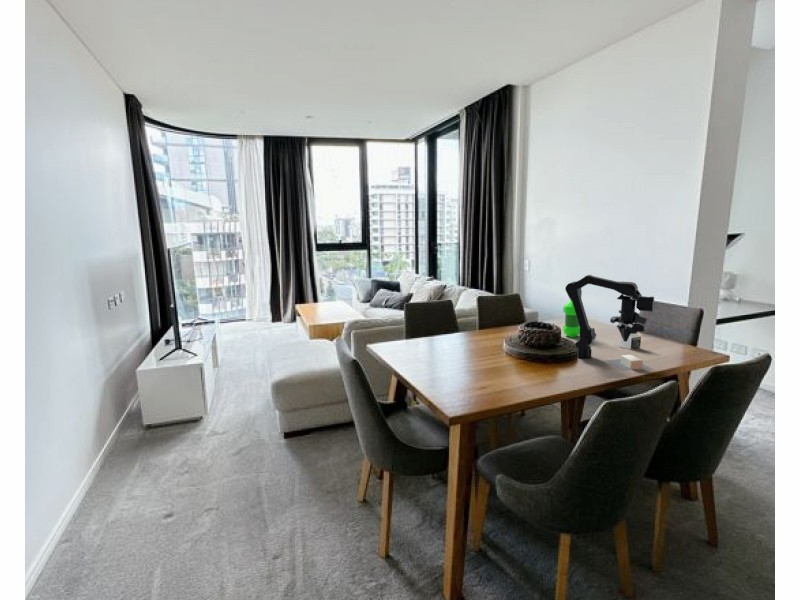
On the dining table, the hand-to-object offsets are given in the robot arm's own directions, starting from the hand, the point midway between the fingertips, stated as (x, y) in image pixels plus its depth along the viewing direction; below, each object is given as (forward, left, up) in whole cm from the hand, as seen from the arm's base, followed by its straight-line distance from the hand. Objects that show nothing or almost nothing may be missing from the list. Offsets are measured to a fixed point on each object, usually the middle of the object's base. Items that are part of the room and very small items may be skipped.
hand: (625, 341), depth 195 cm
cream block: (+1, 0, -9) cm, 9 cm away
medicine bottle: (+18, +25, -12) cm, 33 cm away
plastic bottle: (-1, +53, -12) cm, 54 cm away
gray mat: (+1, -1, -12) cm, 12 cm away
